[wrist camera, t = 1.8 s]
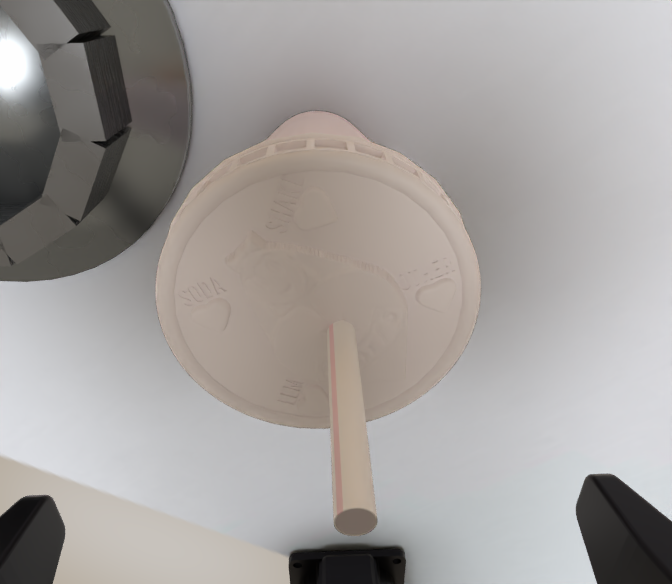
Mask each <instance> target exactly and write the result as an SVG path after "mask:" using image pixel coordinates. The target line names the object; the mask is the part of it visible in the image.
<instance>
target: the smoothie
mask: <svg viewBox="0 0 672 584" xmlns="http://www.w3.org/2000/svg"><path fill="white" fill-rule="evenodd" d="M155 297H156V307H157V313H158V318H159V321H160V325H161V328H162V331H163V333H164V336H165V338H166V341H167V343H168V345H169V347H170V348H171V350H172V352H173V354H174V356H175V357H176V358H177V360H178V361H179V363H180V364H181V366H182V367H183V368H184V369H185V370H186V372H187V373H188V374H189V375H190V376H191V377H192V378H193V379H194V380H195V381H196V382H197V383H198V384H199V385H200V386H201V387H202V388H203V389H205V390H206V391H207V392H208V393H210V394H211V395H212V396H214V397H215V398H217V399H218V400H220V401H221V402H223V403H224V404H226V405H228V406H230V407H231V408H233V409H235V410H237V411H240V412H242V413H244V414H246V415H249V416H251V417H254V418H257V419H260V420H263V421H267V422H270V423H274V424H279V425H284V426H290V427H297V428H324V429H326V428H330V435H331V463H332V490H333V518H334V526H335V528H336V529H337V531H339V532H340V533H342V534H345V535H349V536H360V535H364V534H367V533H369V532H371V531H372V530H373V529H374V528H375V527H376V525H377V513H376V504H375V496H374V487H373V479H372V470H371V462H370V453H369V445H368V436H367V428H366V422H368V421H371V420H374V419H378V418H381V417H383V416H386V415H388V414H391V413H393V412H395V411H397V410H399V409H401V408H403V407H405V406H407V405H408V404H410V403H412V402H414V401H415V400H417V399H418V398H420V397H421V396H422V395H424V394H425V393H427V392H428V391H429V390H430V389H431V388H433V387H434V386H435V385H436V384H437V383H438V382H439V381H440V380H441V379H442V378H443V377H444V376H445V375H446V374H447V373H448V372H449V371H450V369H451V368H452V367H453V366H454V365H455V363H456V362H457V360H458V359H459V357H460V356H461V354H462V353H463V351H464V349H465V347H466V345H467V344H468V342H469V339H470V337H471V335H472V332H473V330H474V327H475V324H476V320H477V317H478V312H479V306H480V297H481V278H480V271H479V264H478V260H477V256H476V253H475V249H474V247H473V244H472V242H471V239H470V237H469V235H468V233H467V231H466V229H465V227H464V224H463V221H462V218H461V215H460V212H459V211H458V209H457V208H456V207H455V205H454V204H453V203H452V201H451V200H450V198H449V197H448V196H447V194H446V193H445V192H444V190H443V189H442V188H441V186H440V185H439V184H438V182H437V181H436V179H434V178H433V177H432V176H430V175H429V174H428V173H426V172H425V171H424V170H422V169H421V168H420V167H418V166H417V165H416V164H414V163H413V162H412V161H410V160H409V159H408V158H406V157H405V156H404V155H402V154H401V153H399V152H396V151H394V150H391V149H388V148H386V147H383V146H380V145H378V144H375V143H373V142H370V141H369V140H368V139H367V138H366V137H365V136H364V135H363V134H362V133H361V132H360V131H359V130H358V129H357V128H356V127H355V126H353V125H352V124H351V123H350V122H349V121H347V120H346V119H344V118H342V117H341V116H338V115H336V114H333V113H330V112H325V111H309V112H304V113H300V114H298V115H295V116H293V117H291V118H289V119H288V120H286V121H285V122H284V123H283V124H281V125H280V126H279V127H278V128H277V129H276V130H275V131H274V132H273V133H272V134H271V135H270V136H269V137H268V138H267V139H266V140H265V141H263V142H261V143H259V144H257V145H254V146H252V147H250V148H248V149H246V150H244V151H242V152H240V153H237V154H235V155H233V156H231V157H229V158H227V159H225V160H223V161H222V162H221V163H220V164H219V165H218V166H217V167H215V168H214V169H213V170H212V171H211V172H210V173H209V174H208V175H206V176H205V177H204V178H203V179H202V180H201V181H200V182H199V183H197V184H196V185H195V186H194V187H193V188H192V189H191V191H190V192H189V194H188V196H187V197H186V199H185V200H184V202H183V204H182V205H181V207H180V209H179V210H178V212H177V214H176V215H175V217H174V218H173V220H172V222H171V224H170V228H169V232H168V236H167V239H166V241H165V243H164V246H163V248H162V251H161V255H160V258H159V261H158V267H157V272H156V283H155Z"/></svg>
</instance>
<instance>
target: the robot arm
mask: <svg viewBox="0 0 672 584" xmlns="http://www.w3.org/2000/svg"><path fill="white" fill-rule="evenodd" d="M576 516H577V520H578V524H579V527H580V530H581V533H582V537H583V540H584V543H585V546H586V549H587V553H588V556H589V559H590V562H591V565H592V569H593V572H594V575H595V578H596V581H597V584H672V521H671V520H669V519H668V518H667V517H666V516H664V515H663V514H662V513H661V512H659V511H658V510H657V509H656V508H655V507H653V506H652V505H651V504H650V503H648V502H647V501H646V500H645V499H644V498H642V497H641V496H640V495H639V494H637V493H636V492H635V491H634V490H632V489H631V488H630V487H629V486H628V485H626V484H625V483H624V482H623V481H621V480H620V479H619V478H618V477H616V476H614V475H612V474H590V475H588V476H587V477H586V478H585V480H584V483H583V486H582V489H581V492H580V495H579V498H578V501H577V504H576ZM64 539H65V526H64V523H63V520H62V518H61V516H60V513H59V511H58V509H57V507H56V504H55V502H54V500H53V498H52V497H50V496H49V495H31V496H25V497H23V498H21V499H20V500H19V501H17V502H16V503H15V504H14V505H12V506H11V507H10V508H9V509H8V510H7V511H6V512H5V513H4V514H2V515H1V516H0V584H53V580H54V577H55V572H56V569H57V565H58V562H59V557H60V554H61V550H62V547H63V543H64ZM405 564H406V559H405V553H404V551H403V550H400V549H385V550H361V551H336V552H311V553H295V554H292V555H291V556H290V557H289V574H290V584H404V575H405Z"/></svg>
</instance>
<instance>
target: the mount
mask: <svg viewBox="0 0 672 584" xmlns="http://www.w3.org/2000/svg"><path fill="white" fill-rule="evenodd" d="M191 117H192V99H191V86H190V75H189V70H188V65H187V60H186V55H185V50H184V46H183V42H182V39H181V36H180V33H179V30H178V27H177V24H176V21H175V18H174V15H173V12H172V9H171V7H170V5H169V3H168V1H167V0H0V281H21V282H29V281H40V280H51V279H56V278H61V277H66V276H70V275H75V274H77V273H80V272H83V271H86V270H89V269H92V268H94V267H97V266H99V265H101V264H102V263H104V262H106V261H108V260H110V259H112V258H114V257H116V256H117V255H119V254H120V253H121V252H123V251H124V250H125V249H127V248H128V247H130V246H131V245H132V244H134V243H135V242H136V241H137V240H138V239H139V238H140V237H141V236H142V235H143V234H144V233H145V232H146V231H147V230H148V229H149V228H150V226H151V225H152V224H153V222H154V221H155V220H156V218H157V217H158V215H159V214H160V213H161V211H162V210H163V209H164V207H165V206H166V204H167V203H168V201H169V199H170V197H171V195H172V193H173V191H174V189H175V187H176V185H177V183H178V181H179V178H180V175H181V172H182V169H183V166H184V163H185V160H186V156H187V151H188V145H189V140H190V134H191Z"/></svg>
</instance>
